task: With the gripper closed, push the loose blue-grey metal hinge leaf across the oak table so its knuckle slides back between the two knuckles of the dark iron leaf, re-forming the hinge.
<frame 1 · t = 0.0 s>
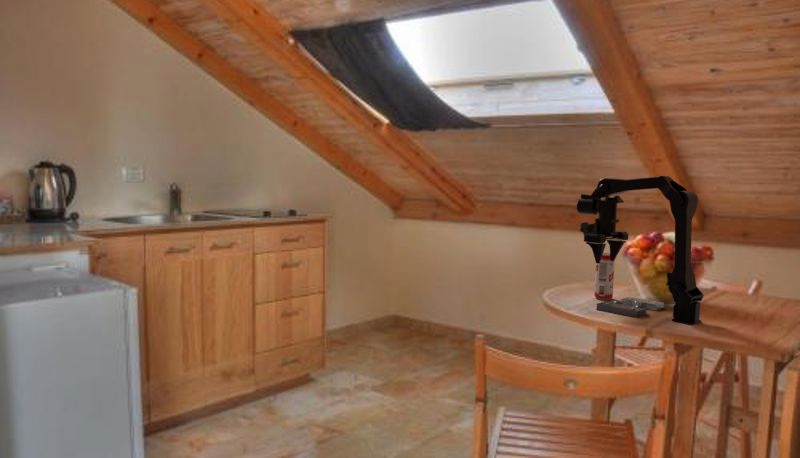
hand: (605, 262, 214), 15 cm above the table, fingers open, 9 cm apart
free leaf: (641, 306, 215), on the table
beer can: (603, 299, 226), on the table
fixed leaf: (620, 312, 205), on the table
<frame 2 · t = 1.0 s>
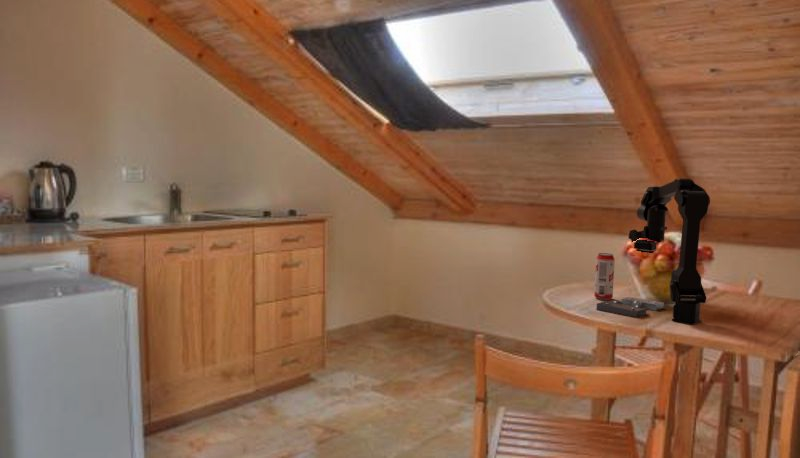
hand: (653, 268, 219), 12 cm above the table, fingers open, 9 cm apart
nothing on the table moved.
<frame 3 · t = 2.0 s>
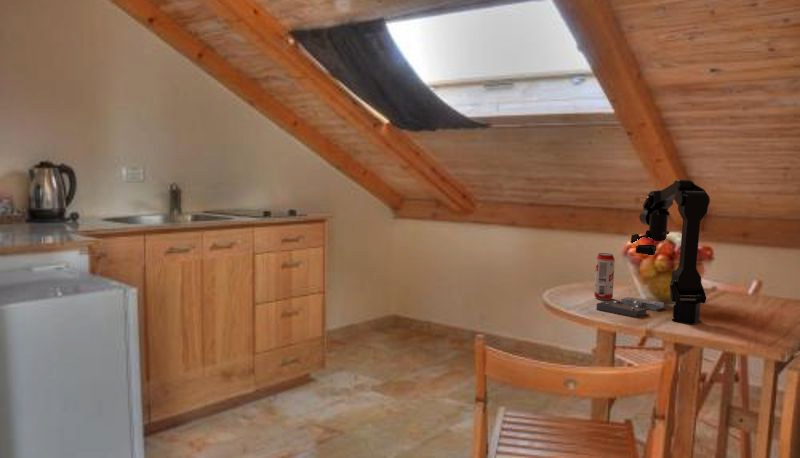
hand: (655, 273, 219), 11 cm above the table, fingers closed
nothing on the table moved.
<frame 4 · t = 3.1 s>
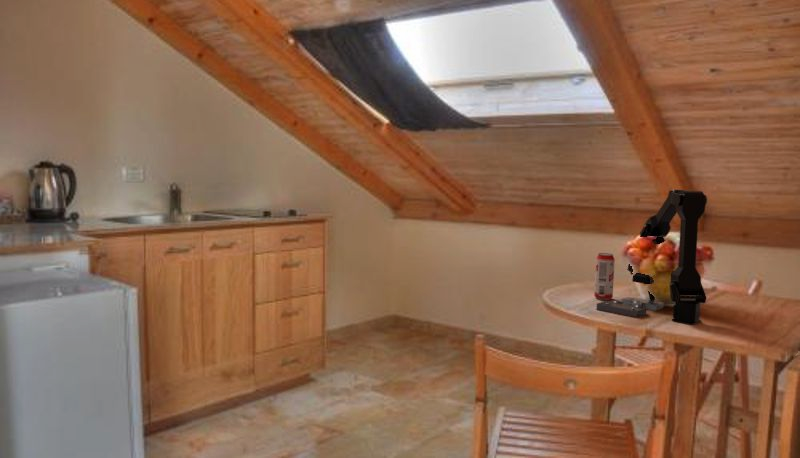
hand: (652, 301, 219), 1 cm above the table, fingers closed
nothing on the table moved.
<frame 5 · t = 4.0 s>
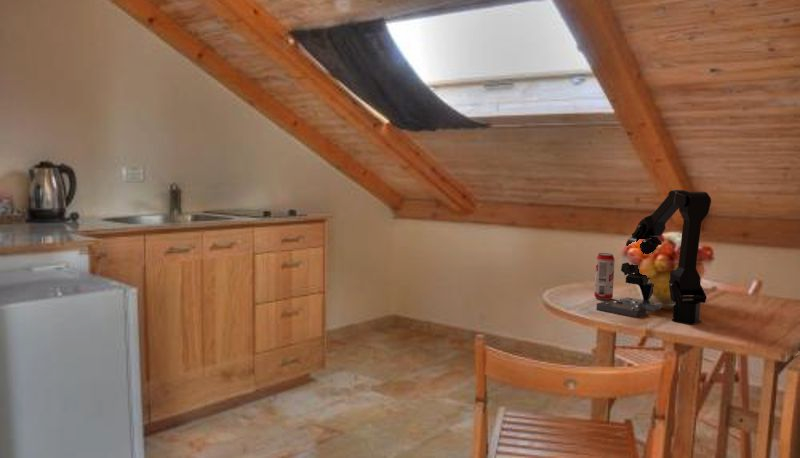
hand: (646, 302, 217), 1 cm above the table, fingers closed
free leaf: (640, 306, 214), on the table, touching gripper
everything else where it was.
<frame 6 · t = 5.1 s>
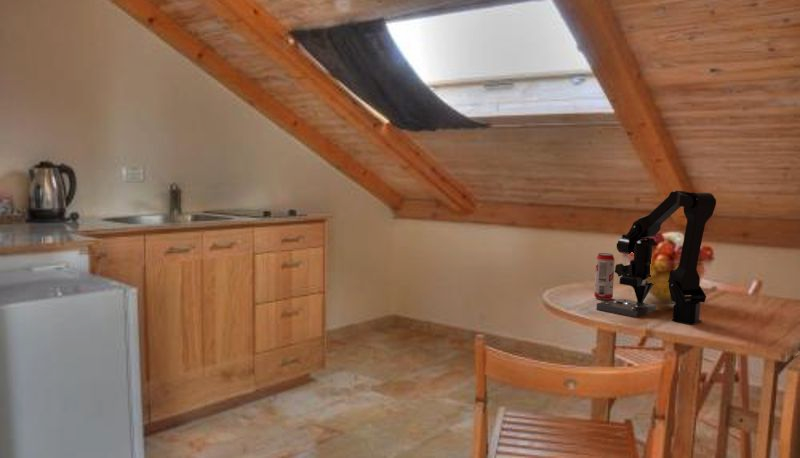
hand: (640, 303, 214), 1 cm above the table, fingers closed
free leaf: (634, 308, 211), on the table
everything else where it was.
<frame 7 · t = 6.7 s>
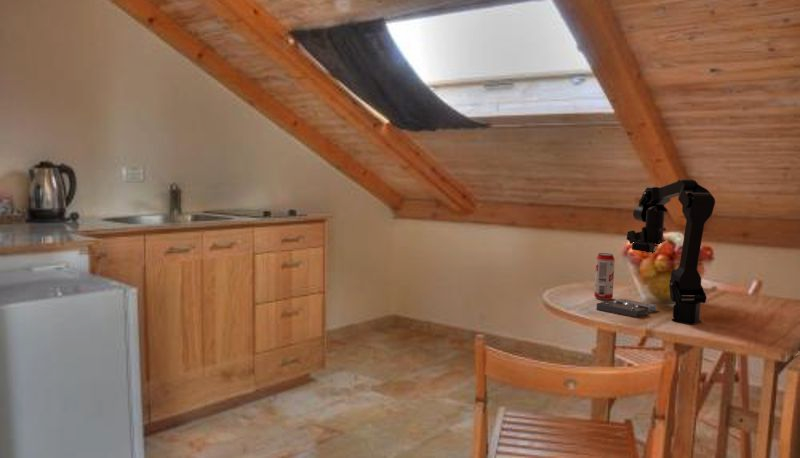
hand: (651, 270, 216), 12 cm above the table, fingers closed
nothing on the table moved.
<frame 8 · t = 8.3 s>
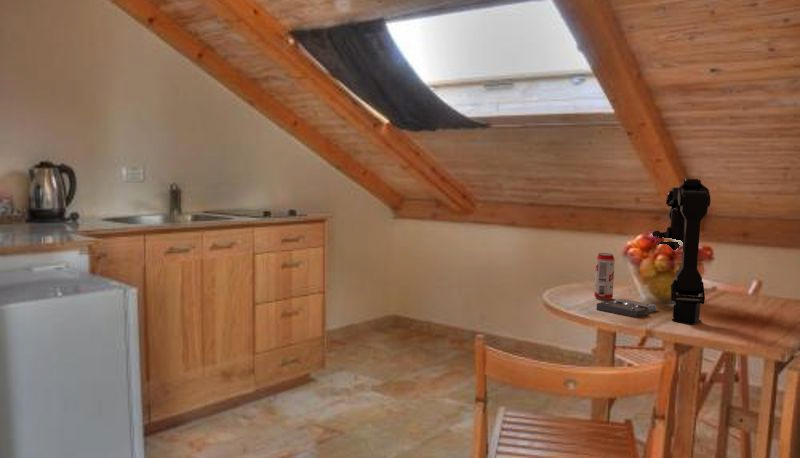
hand: (676, 269, 218), 12 cm above the table, fingers closed
nothing on the table moved.
at the end: free leaf 0.4 cm from the target spot on the table beside the fixed leaf, on the table; free leaf tilted 1° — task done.
